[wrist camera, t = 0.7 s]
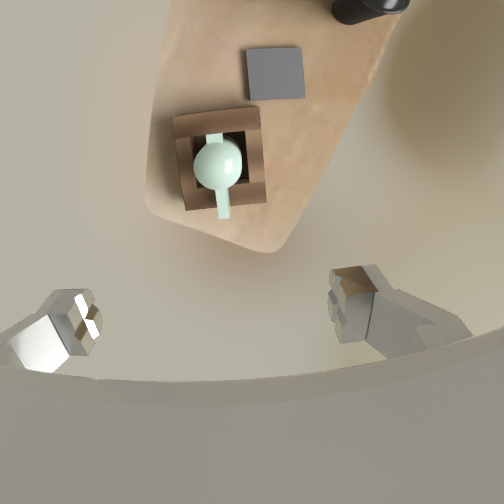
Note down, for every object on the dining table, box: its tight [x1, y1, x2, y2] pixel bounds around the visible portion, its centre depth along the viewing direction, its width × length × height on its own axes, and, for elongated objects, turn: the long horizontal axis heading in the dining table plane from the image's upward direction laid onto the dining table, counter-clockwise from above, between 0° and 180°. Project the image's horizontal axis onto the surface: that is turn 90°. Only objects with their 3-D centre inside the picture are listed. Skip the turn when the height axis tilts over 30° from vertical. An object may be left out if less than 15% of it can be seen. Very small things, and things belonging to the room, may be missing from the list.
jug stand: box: [172, 107, 267, 211], centre depth 43 cm, size 14×12×4 cm
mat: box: [246, 48, 305, 101], centre depth 38 cm, size 8×8×1 cm
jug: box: [194, 132, 242, 219], centre depth 41 cm, size 11×6×9 cm, turn 5°
